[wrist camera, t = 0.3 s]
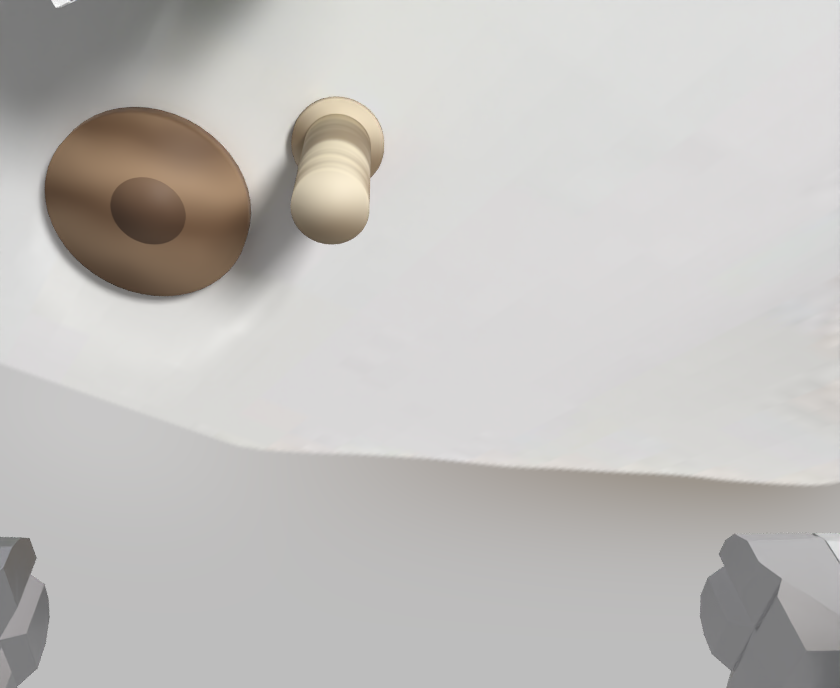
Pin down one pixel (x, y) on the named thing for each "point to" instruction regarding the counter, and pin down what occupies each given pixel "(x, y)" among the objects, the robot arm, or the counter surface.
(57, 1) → the syrup box
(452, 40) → the counter surface
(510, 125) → the counter surface
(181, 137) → the base
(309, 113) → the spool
